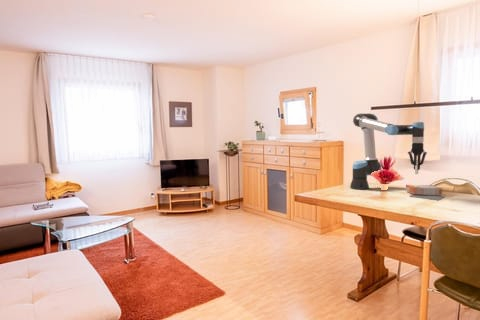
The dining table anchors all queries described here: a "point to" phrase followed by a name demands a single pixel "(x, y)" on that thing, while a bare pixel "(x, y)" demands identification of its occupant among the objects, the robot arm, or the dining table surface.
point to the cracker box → (424, 190)
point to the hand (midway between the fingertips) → (416, 173)
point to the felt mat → (428, 197)
